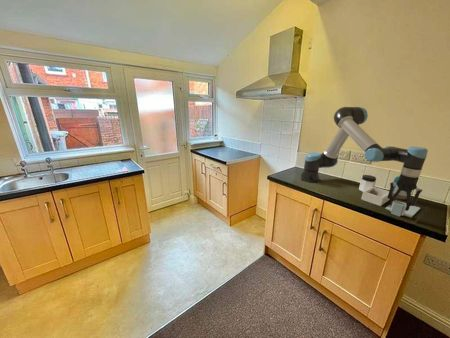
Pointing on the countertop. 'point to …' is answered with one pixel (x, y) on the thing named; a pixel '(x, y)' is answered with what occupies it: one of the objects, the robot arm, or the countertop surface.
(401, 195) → the green capped bottle
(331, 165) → the robot arm
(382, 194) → the tub
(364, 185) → the jar
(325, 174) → the countertop surface
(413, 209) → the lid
